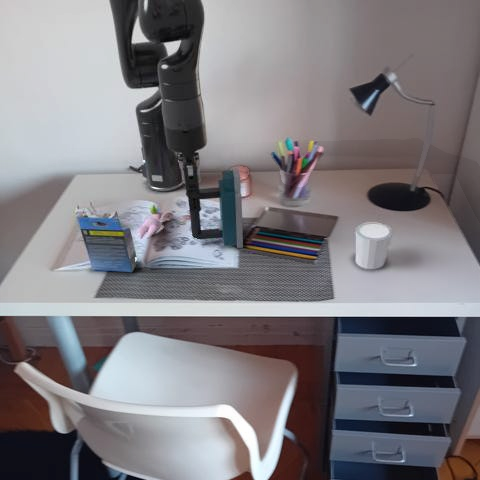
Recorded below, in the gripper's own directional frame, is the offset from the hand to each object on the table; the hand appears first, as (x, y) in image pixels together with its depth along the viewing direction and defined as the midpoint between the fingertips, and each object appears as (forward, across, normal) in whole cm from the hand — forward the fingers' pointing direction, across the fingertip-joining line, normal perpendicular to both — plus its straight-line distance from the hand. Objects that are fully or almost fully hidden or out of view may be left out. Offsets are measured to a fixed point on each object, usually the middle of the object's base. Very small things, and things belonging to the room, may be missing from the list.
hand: (194, 201), depth 102 cm
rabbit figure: (+10, -7, -10) cm, 16 cm away
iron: (+2, 0, +9) cm, 10 cm away
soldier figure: (+10, -14, -23) cm, 29 cm away
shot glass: (+10, +14, +33) cm, 37 cm away
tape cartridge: (+10, +6, -18) cm, 21 cm away
